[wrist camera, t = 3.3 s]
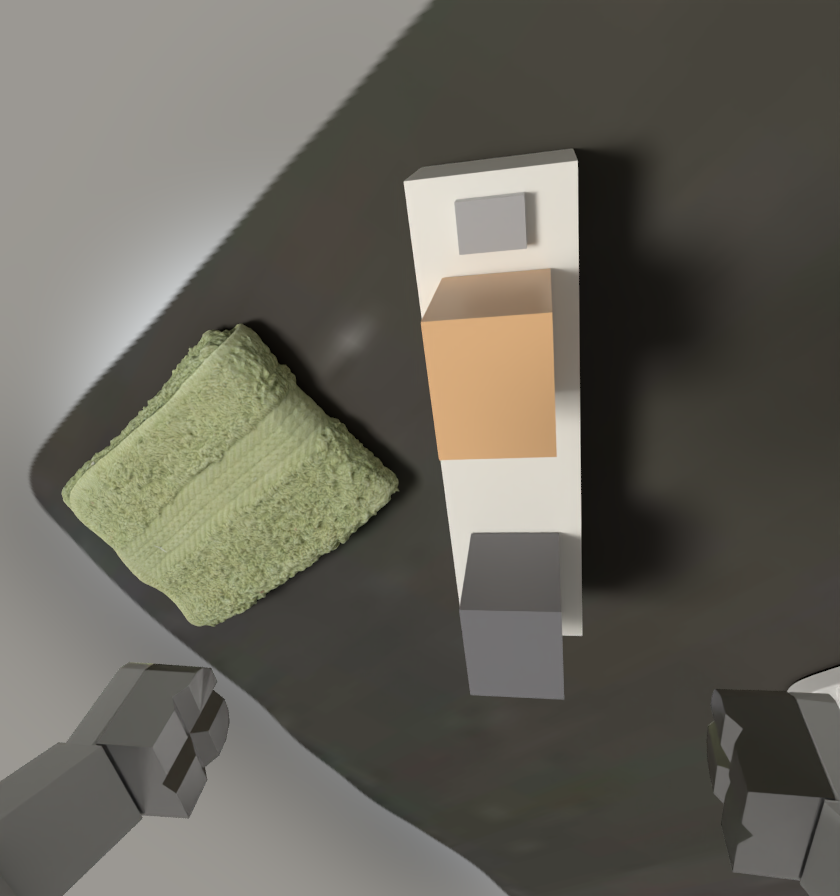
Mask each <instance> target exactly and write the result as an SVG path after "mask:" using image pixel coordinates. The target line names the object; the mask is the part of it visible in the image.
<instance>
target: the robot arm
mask: <svg viewBox="0 0 840 896" xmlns="http://www.w3.org/2000/svg"><path fill="white" fill-rule="evenodd" d="M216 683H217V680H216V677H215V675H214V673H213V671H212V669H211V668H205V667H193V666H179V665H166V664H151V663H133V662H129V663H127V664H125V665H124V666H122V667H121V668H120V669H119V670H118V671H117V672H116V674H115V675H114V677H113V678H112V679H111V681H110V682H109V684H108V685H107V686H106V688H105V689H104V691H103V692H102V693H101V695H100V696H99V697H98V699H97V700H96V702H95V703H94V705H93V706H92V707H91V709H90V710H89V711H88V713H87V714H86V716H85V717H84V718H83V720H82V721H81V722H80V724H79V725H78V727H77V728H76V729H75V731H74V732H73V734H72V735H71V736H70V738H69V739H68V741H67V742H66V743H60V742H59V743H57V744H55V745H54V746H52V747H51V748H49V749H48V750H46V751H45V752H43V753H42V754H40V755H39V756H37V757H36V758H34V759H33V760H31V761H30V762H28V763H27V764H25V765H24V766H22V767H21V768H19V769H18V770H16V771H15V772H14V773H12V774H11V775H9V776H8V777H6V778H5V779H3V780H2V781H0V896H63V895H64V894H65V893H66V892H67V891H68V890H69V889H70V888H71V887H72V886H73V885H74V884H75V883H76V882H77V881H78V880H79V879H80V878H81V877H82V876H83V875H84V874H85V873H86V872H88V870H89V869H91V868H92V867H93V866H94V865H95V864H96V863H97V862H98V861H99V860H100V859H101V858H102V857H103V856H104V855H105V854H106V853H107V852H108V851H109V850H110V849H111V848H112V847H113V846H115V845H116V844H117V843H118V842H119V841H120V840H121V839H122V838H123V837H124V836H125V835H126V834H127V833H128V832H129V831H130V830H131V829H132V828H133V827H134V826H135V825H136V824H137V823H138V822H139V821H140V820H141V819H142V816H141V815H146V816H161V817H176V818H177V817H178V818H189V817H190V815H191V813H192V811H193V809H194V807H195V804H196V802H197V800H198V798H199V796H200V794H201V792H202V790H203V788H204V786H205V783H206V782H207V777H206V771H205V766H207V765H208V764H209V763H210V762H212V761H213V760H214V759H215V758H217V757H218V756H219V754H220V752H221V750H222V748H223V745H224V743H225V741H226V737H227V732H228V727H229V712H228V707H227V705H226V702H225V699H224V698H222V697H221V696H220V695H219V694H218V693H216V692H215V691H214V690H213V689H214V687H215V685H216ZM711 709H712V713H713V717H714V722H712V723H711V724H710V725H708V730H707V741H706V743H707V762H708V768H709V774H710V779H711V783H712V788H713V792H714V794H715V795H716V796H717V797H718V798H719V799H720V800H721V801H722V802H723V803H724V806H723V813H722V819H721V826H722V830H723V834H724V839H725V843H726V847H727V851H728V855H729V859H730V863H731V867H732V871H733V872H736V873H744V874H752V875H760V876H768V877H776V878H784V879H792V880H800V881H801V882H800V884H801V886H802V887H803V888H804V889H805V891H806V892H807V893H808V894H809V896H840V666H839V667H837V668H833V669H830V670H827V671H824V672H821V673H818V674H815V675H812V676H810V677H807V678H805V679H802V680H800V681H798V682H796V683H795V684H793V685H792V686H791V687H790V688H789V689H788V691H766V690H734V689H715V690H714V692H713V694H712V700H711Z"/></svg>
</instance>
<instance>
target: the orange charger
mask: <svg viewBox="0 0 840 896" xmlns="http://www.w3.org/2000/svg"><path fill="white" fill-rule="evenodd" d="M421 328H422V336H423V343H424V350H425V358H426V365H427V373H428V380H429V388H430V395H431V403H432V410H433V418H434V425H435V433H436V440H437V448H438V455H439V460H465V459H501V458H538V457H557V449H556V416H555V383H554V350H553V317H552V291H551V269H539V270H528V271H516V272H504V273H493V274H481V275H470V276H458V277H447V278H442V279H441V281H440V283H439V286H438V288H437V290H436V292H435V294H434V296H433V298H432V300H431V302H430V304H429V306H428V308H427V310H426V312H425V314H424V316H423V318H422V320H421Z"/></svg>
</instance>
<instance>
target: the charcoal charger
mask: <svg viewBox="0 0 840 896" xmlns="http://www.w3.org/2000/svg"><path fill="white" fill-rule="evenodd" d="M459 612H460V620H461V627H462V635H463V642H464V650H465V657H466V664H467V672H468V679H469V687H470V694H471V695H482V696H503V697H524V698H545V699H564V679H563V646H562V613H561V584H560V555H559V533H473V534H471V537H470V544H469V550H468V557H467V563H466V569H465V576H464V582H463V589H462V595H461V602H460V608H459Z"/></svg>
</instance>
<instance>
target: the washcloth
mask: <svg viewBox="0 0 840 896" xmlns="http://www.w3.org/2000/svg"><path fill="white" fill-rule="evenodd" d="M110 442H111V445H110V446H108V447H105V449H104V450H102V451H101V452H99V453H95V454H96V455H94V456H93V458H92V459H91V460H89V461H87V462H85V464H84V466H83V467H82V468H81V469H79V470H78V471H77V472H76V474H75V476H73V477H72V478H70V480H69V481H68V482H67V484H66V486H65V487H64V488H63V490H62V496H63V501H64V502H65V503H66V505H67V506H68V507H69V508H70V509H71V510H72V511H73V512H74V513H75V515H76V516H77V517H78V518H79V520H80V521H81V522H82V523H83V524H84V525H86V526H87V527H88V528H90V529H91V530H92V531H93V532H94V533H96V534H97V535H98V536H99V537H101V538H102V539H103V540H104V541H105V542H106V543H107V544H109V545H110V546H111V547H112V548H113V549H114V550H115V551H116V553H117V554H118V556H119V557H120V558H121V560H122V561H123V562H124V563H125V565H126V566H127V567H128V568H129V569H130V570H131V571H132V573H133V574H134V575H136V576H137V577H138V579H139V580H141V581H142V582H144V583H146V584H148V585H150V586H152V587H154V588H157V589H158V590H160V591H162V592H163V593H164V594H166V595H167V596H168V597H169V598H170V599H171V600H172V601H173V602H174V603H175V604H176V605H177V606H178V607H179V609H180V610H181V611H182V613H183V614H184V616H185V617H186V619H187V620H188V621H189V622H190V623H191V624H194V625H196V626H203V625H210V626H215V625H216V624H219V623H220V622H224V621H226V619H227V618H231V617H232V616H233V615H236V613H237V614H241V613H243V612H245V610H247V609H249V608H250V607H251V606H252V605H253V604H256V601H257V599H261V598H262V597H263V598H265V596H266V593H269V592H270V590H272V589H275V588H277V587H278V586H279V585H280V584H283V583H284V584H285V582H286V581H287V580H288V579H289V578H292V577H294V576H295V574H296V573H297V572H298V571H304V570H305V569H306V568H307V567H309V566H311V565H312V564H313V563H314V562H315V561H317V560H318V558H319V557H320V556H321V555H323V554H324V553H330V551H331V550H335V549H337V547H338V546H339V544H340V542H341V543H343V544H344V543H345V542H346V541H347V540H348V539H349V537H350V535H351V534H352V533H353V532H356V531H357V529H358V528H359V527H360V526H362V525H364V524H365V523H366V522H367V521H368V519H369V518H370V517H371V516H373V515H376V512H377V511H379V510H380V508H382V507H383V506H385V504H387V503H388V502H389V500H391V497H390V496H391V494H393V493H395V491H399V490H398V488H397V486H398V479H397V478H396V475H395V474H394V473H393V472H392V471H391V470H390V469H388V468H386V467H384V466H383V464H382V462H381V461H380V459H379V458H377V457H374V455H373V453H372V452H370V451H369V450H368V449H367V448H364V447H363V444H362V443H359V440H357V439H356V438H355V437H354V436H353V435H352V434H351V433H349V432H348V429H347V428H346V426H345V424H343V423H340V421H339V419H336V418H330V417H329V416H328V415H326V414H325V412H324V411H323V410H322V408H320V407H319V406H318V405H317V404H316V403H315V402H314V401H313V400H312V398H310V397H309V396H307V395H306V394H305V393H304V392H303V391H302V390H301V389H300V388H299V387H298V386H297V385H296V377H295V375H294V374H293V373H291V372H290V369H289V368H288V367H287V366H286V365H280V364H279V363H278V361H277V358H276V356H275V355H273V354H271V352H270V349H269V347H268V346H267V345H266V344H264V343H262V340H261V339H260V337H259V336H258V335H257V333H256V332H254V331H253V330H252V329H251V328H248V327H246V326H245V325H243V324H238V325H236V326H235V327H234V328H233V329H232V330H230V331H228V330H225V331H223V332H220V331H219V330H208V331H206V332H205V333H204V334H203V336H202V338H201V340H200V341H199V343H198V345H196V346H194V347H193V348H189V352H188V355H186V356H185V358H184V359H182V362H181V363H179V364H177V368H176V370H173V371H172V377H171V378H170V380H169V381H168V382H167V383H166V384H164V386H163V388H162V390H161V391H159V392H158V393H157V395H156V396H155V397H154V398H152V399H151V400H149V401H148V406H147V407H143V411H142V410H141V411H139V414H138V416H137V417H135V418H134V419H133V420H131V421H130V422H129V424H128V426H127V427H126V428H125V429H124V430H122V432H121V435H119V436H118V437H115V438H114V439H113V440H111V441H110Z"/></svg>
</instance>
